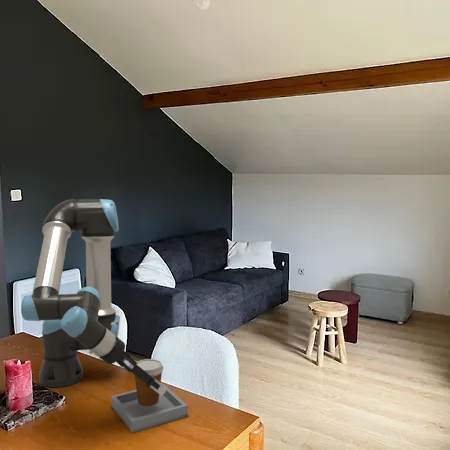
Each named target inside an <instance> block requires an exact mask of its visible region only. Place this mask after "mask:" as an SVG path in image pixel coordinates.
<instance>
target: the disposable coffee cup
mask: <svg viewBox="0 0 450 450" xmlns="http://www.w3.org/2000/svg"><path fill="white" fill-rule="evenodd" d="M136 362H137V365H138V366H139V367H140V368H142V369H143V370H144V371H145V372H147V373H148V374H149V375H150V376H151V377H154V378H155V379H156V380H158V381H159V382H160V383H162V376H163V371H164V368H165V367H164V365H163V363H162V361H160V360H159V359H152V358H145V359H140V360H138V361H136ZM133 375H134V374H133ZM134 381H135V382H134V383H135V390H137V397H138V403H139V404H140V405H142V406H152V405H155V404H157V403H158V401H159V393H157V392H156V391H155V390H153V389H152V388H151V387H149V386H148V388H147V387H146V385H147V384H146V383H144V382H143V381H142V380H141V379H139V378H138V377H137V376H136V375H134Z"/></svg>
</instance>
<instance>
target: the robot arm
mask: <svg viewBox="0 0 450 450" xmlns="http://www.w3.org/2000/svg"><path fill="white" fill-rule="evenodd" d="M119 230H120V229H119V219H118V212H117V206H116V204H115V202H114V200H112V199H102V198H99V199H96V198H94V199H93V198H91V199H86V198H85V199H75V198H74V199H66V200H64V201H62V202H60V203H59V204H57V205H55V207H53V208H52V209H51V210H50V211H49V213H48V214H47V215H46V217H45V219H44V222H43V224H42V229H41V231H42V234H43V239H42V240H43V241H42V245H41V250H40V254H39V255H40V256H39V260H38V265H37V270H36V274H35V280H34V284H33V289H32V294H29V295H25V296H23V298H22V300H21V303H20V304H21V305H20V311H21V312H20V313H21V316H22V319H23V320H24V321H29V322H30V321H31V322H33V321H34V322H40V321H43V323H42V328H41V329H42V330H41V334H42V352H43V353H42V355H43V360H42V364H41V367H40V371H39V374H38V383H39V384H40V385H41V386H44V387H46V388H47V387H48V388H63V387H68V386H70V385H74V384H76V383H78V382H80V381H81V380H82V379H83V378H84V369H83V367H82V363H81V360H80V358H79V356H78V351H88V352H89V354H94V355H96V356H97V357H98V358H99V359H101V360H102V361H103V362H105V363H106V364H108V365H112V364H115V363H117V365H119V366H120V367H121V368H124V369H125V370H126V371H127V372H129V373H132V375H136V376H137V377H138V378H139V379H141V380H142V381H143V382H144V383H146V384H147V385H146V387H147V388H148V386H149V387H151V388H152V389H153V390H155V391H156V392H157V393H159V394H160V395H161V396H163V394H164V393H165V392H166V390H167V389H168V388H169V387H168V388H166V387H165V386H164V385H165V384H164V383H163V384H164V385H163V384H161V383H162V382H161V383H160V382H159V381H158V380H156V379H155V378H154V377H151V376H150V375H149V374H148V373H147V372H145V371H144V370H143V369H142V368H140V367H139V366H138V365H137V362H138V361H136V360H135V359H133V358H132V356H131V355H130V354H129V353H128V352H127V351H126V350H125V349H126V343H125V342H124V341H122V339H120V338H119V337H118V336H119V330H120V319H121V317H120V315H118V314H117V313H116V312H117V311H116V309H115V308H114V307H112V274H111V273H112V266H111V265H112V263H111V262H112V260H111V256H112V255H111V253H112V251H111V242H112V240H113V239H114V238H115V234H116V232H119ZM72 233H81V237H80V238H81V239H82V240H84V241H85V264H86V265H85V267H86V268H85V269H86V270H85V272H86V274H85V275H86V278H85V279H86V286H84V287H81V288H80V289H78V290H77V292H76V293H64V294H63V293H62V294H61V293H60V289H61V284H62V283H61V282H62V278H63V277H62V276H63V269H64V263H65V256H66V252H67V244H68V239H70V238H71V236H72Z"/></svg>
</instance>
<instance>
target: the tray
mask: <svg viewBox="0 0 450 450" xmlns="http://www.w3.org/2000/svg"><path fill="white" fill-rule="evenodd" d="M161 384H163V385H164V386H165V387H166V388H168V389H167V390H166V392H165V393H164V394H163V396H161V395H160V394H159V401H158V403H157V404H155V405H152V406H142V405H140V404H139V403H138V397H137V390H136V389H134V390H129V391H125V392H123V393H119V394H115V395H111V396H110V404H111V405H110V407H111V408H112V409H113V411H114V413H116V415H117V416H118V417H119V419H120V420H121V422H123V424H124V425H125V427H126V428H127V429H128V430H129V431H130V433H131V434H134V433H137V432H141V431H145V430H146V429H147V430H148V429H150V428H154V427H157V426H160V425H163V424H166V423H170V422H174V421H177V420H179V419H182V418H186V417H188V415H189V414H188V413H189V412H188V410H189V408H188V407H189V405H188V404H187V403H185V402H184V400H183V399H181V398H180V397H179V396H178V395H177V394H176V393H175V392H173V391H172V389H170V388H169V387H168V386H166V385H165V383H163V382H161Z"/></svg>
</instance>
